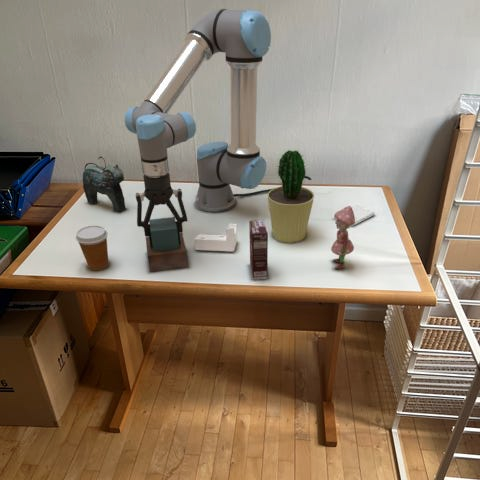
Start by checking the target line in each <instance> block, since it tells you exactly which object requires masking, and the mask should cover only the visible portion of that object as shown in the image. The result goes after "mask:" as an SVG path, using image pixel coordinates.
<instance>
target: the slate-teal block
mask: <svg viewBox="0 0 480 480" xmlns="http://www.w3.org/2000/svg"><path fill="white" fill-rule="evenodd" d="M175 221H176V219H175V217H174V216H169V217H162V218H161V217H160V218H152V219H151V218H150V220H149V224H150V231H151V238H152V245H153V251H162V250H171V249H179V242H178V233H177V226H176V222H175Z"/></svg>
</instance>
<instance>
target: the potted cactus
mask: <svg viewBox="0 0 480 480" xmlns="http://www.w3.org/2000/svg"><path fill="white" fill-rule="evenodd" d="M303 157H304V154H303V153H302V152H300V150H299V149H298V150H297V149H296V150H294V149H291V150H289V149H287V150H285V151H284V153H283V154H280V158H279V160H278V164H277V165H276V167H277V168H278V169H277V170H276V173H277V175H278V177H279V179H280V181H278V182H279V183H280V185H279V186H277V187H273V188H274V189H273V188H271V189H272V190H270V191H269V192H267V202H268V208H269V209H268V210H269V215H270V216H269V217H270V223H271V224H270V225H271V232H272V236H273V238H274V239H275V240H276V241H278V242H282V243H289V244H292V243H293V244H294V243H297V242H301V241H302V240H304V239H305V237H306V235H307V230H308V225H309V220H310V216H311V212H312V207H313V204H314V199H315V193H314V192H313V191H312V190H311V189H309V188H307V187H304V186H303V184H304V182H305V180H304V179H305V178H304V177H305V176H306V177H307V176H308V175H307V173H306V172H307V171H308V169H307V167H306V165H305V164H306V162H307V161H305V158H303ZM306 169H307V170H306Z"/></svg>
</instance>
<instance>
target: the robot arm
mask: <svg viewBox="0 0 480 480" xmlns="http://www.w3.org/2000/svg"><path fill="white" fill-rule="evenodd" d="M271 43H272V32H271V27H270V23H269V21H268V20H267V18H266V16H265V15H264V14H263V13H261V12H260V11H255V10H251V9H227V8H219V9H214V10H212V11H210V12H208V13H207V14H205V15H204V16H202V17H201V18H200V20H198V21H197V22H196V23H195V24H194V25H193V26H192V28H191V29H190V30H189V31H188V33H187V34H186V35H185V38H184V44H183V46H182V47H181V48H180V50H179V51H178V53H177V54H176V55H175V57H174V58H173V59H172V61H171V62H170V64H169V65H168V67H166V69H165V71H164V72H163V74H162V75H161V77H159V79H158V80H157V82H156V84H155V85H154V86H153V87H152V89H151V90H150V92H149V93H148V95H147V96H146V97H145V99H144V100H143V102H141V104H140V106H132V107H130V108H128V109H127V110H126V112H125V115H124V124H125V125H124V126H125V127H126V129H127V130H128V131H129V132H130V133H132V134H134V135H136V138H137V144H138V149H139V155H140V163H141V169H142V174H143V183H144V191H143V192H141V193H139V192H136V193H135V200H136V204H137V205H136V208H137V209H136V225H137V227H138V228H143V232H144V236H145V238H146V237H149V240H150V247H153V245H152V238H151V231H150V223H149V220H151V217H152V215H153V214H152V213H153V210H154V208H155V206H159V205H161V206H162V205H165V206H166V207H167V208H168V209H169V210H170V213H171V215H172V216H173V217H175V222H176V226H177V233H178V242H179V244H181V242H180V233H182V234H183V232H184V227H183V223H186V222H188V215H187V212H186V208H185V206H184V205H185V204H184V202H183V191H182V188H177V189H173V188H172V185H171V177H170V176H171V175H170V173H169V172H170V166H169V157H168V149H169V148H172V147H174V146H177V145H180V144H181V143H184V142H187V141H189V140H190V139H192V138H193V137H195V135H196V133H197V123H196V121H195V119H194V117H193V115H191V114H190V113H188V112H186V111H185V112H178V113H176V114H171V113H169V112H170V110H171V109H172V107H173V106H174V105H175V103H176V102H177V100H178V99H179V98H180V96H181V95H182V94H183V92H184V91H185V89H186V88H187V86H188V85H189V84H190V82H191V81H192V80H193V78H194V76H195V75H196V74H197V72H198V71H199V69H200V68H201V66H202V65H203V64H204V62H208V61H210V60H211V58H212V57H213V56H214V55H215V54H217V53H225V62H226V64H227V65H228V66H229V67H230V144H228V143H227V142H226V141H211V142H207V143H204V144H201V145H199V146H198V148H197V150H196V165H197V176H198V189H197V193H196V195H195V206H196V208H197V209H198V210H201V211H203V212H207V213H208V212H209V213H221V212H225V211H228V210H231V209H232V208H233V207H234V206H235V205H236V199H235V197H249V196H254V195H260V194H264V193H268V192H269V191H270V190H272V189H274V188H275V187H272V188H268V189H262V190H258V191H257V190H256V191H252V192H247V193H233V190H232V187H231V185H232V186H233V187H239V188H241V189H246V190H254V189H256V188H257V187H258V186H260V184H261V183H262V181H263V180H264V177H265V175H266V171H267V162H266V158H264V157H263V156H262V155H261V148H260V146H259V145H257V107H258V106H257V104H258V68H259V66H260V65H261V64H262V63H263V57H264V56H266V55H267V53H268V52H269V50H270V47H271ZM306 176H307V177H306ZM306 176H305V177H304V179H306V180H308V181H312V178H311V177H310V176H308V175H306ZM173 195H174V197H175V198H176V199H177V203H178V205H179V209H180V212H181V215H182V216H180V214H179V213H178V211H177V209H176V207H175V205H173V202H172V201H171V198H172V196H173ZM144 198H146V199H147V200H148V205H147V208H146V212H145V215H144V218H143V220H142V216H143V215H142V214H143V203H142V202H143V201H144Z"/></svg>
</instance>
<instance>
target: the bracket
mask: <svg viewBox="0 0 480 480" xmlns="http://www.w3.org/2000/svg"><path fill="white" fill-rule="evenodd" d="M237 244H238V224H237V223H228V227H226V228H225V234H207V233H206V234H205V233H204V234H203V233H199V234H198V235H196V237H195V238H194V250H196V251H213V252H215V251H216V252H232V253H233V252H235V250H236V246H237Z"/></svg>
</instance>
